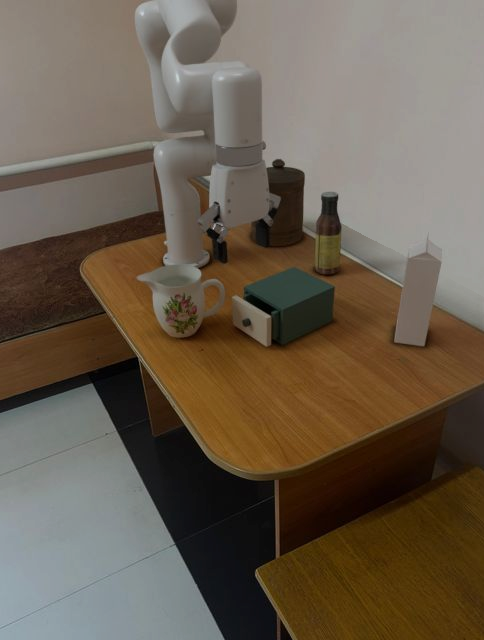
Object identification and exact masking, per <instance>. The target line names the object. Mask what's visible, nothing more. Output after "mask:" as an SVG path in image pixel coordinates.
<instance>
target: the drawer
mask: <svg viewBox="0 0 484 640" xmlns="http://www.w3.org/2000/svg"><path fill="white" fill-rule="evenodd" d="M280 312H281V311H279V310H277V309H276V308H274V307H272V306H271V305H269V304H267V303H265V302H264V301H262V300H260V299H259V298H257V297H255V296H253V295H252V294H250V293H248V294H245V295H244V294H243V295H242V298H241V297H240V296H238V295H237V294H235V295H233V296H231V314H232V325H233V326H235V327H236V328H238V329H239V330H240V331H242V332H243V333H245V334H247V335H248V336H249V337H251V338H253V339H254V340H255V341H257V342H258V343H260V344H261V345H262V346H264V347H266V348H268V347H269V346H271V345H272V340H273V341H275V340H274V339H277V338H279V337H280Z"/></svg>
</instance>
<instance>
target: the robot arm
mask: <svg viewBox="0 0 484 640" xmlns="http://www.w3.org/2000/svg"><path fill="white" fill-rule="evenodd" d="M237 14H238V1H237V0H149V1H144V2H143V3H141V4H139V5H138V6H137V8H136V9H135V12H134V24H135V25H134V28H135V33H136V37H137V40H138V43H139V45H140V48H141V50H142V52H143V55H144V57H145V59H146V62H147V65H148V68H149V73H150V74H149V76H150V84H151V92H152V101H153V109H154V116H155V121H156V124H157V128H158V129H159V130H160V131H161V132H163V133H165V134H178V133H179V134H180V133H188V132H189V133H191V132H197V131H198V132H199V131H202V132H203V135H194V136H182V137H175V138H168V139H165V140H162V141H160V142H159V143H157V144H156V145H155V147H154V149H153V163H154V167H155V171H156V174H157V178H158V182H159V187H160V194H161V202H162V210H163V220H164V228H165V236H166V240H164V241H163V245H164V246H166V247H167V252H166V253H165V254H164V255H163V257H162V262H163V264H164V266H168V265H175V264H184V265H191V266H194V267H196V268H198V269H199V268H202V267H204V266H206V265H207V264H209V262H210V258H211V257H210V253H209V252H208V251H207V250H206V249H204V239H203V234H204V235H206V236H207V237H208V238H209V239H211V244H212V256H213V258H214V260H215V261H217V262H219V263H221V264H223V265H225V264H227V263H228V262H229V260H228V243H227V241H225V239H226V237H227V235H228V233H229V232H230V230H232V229H235V228H239V227H243V226H244V225H248V224H251V222H254V221H257V220H258V221H259V222H257V223H256V241H255V243H256V245H258V246H261V247H263V248H264V249H268V248H270V247H271V246H270V226H271V225H272V224H273V218H274V217H275V215H276V213H277V208H278V206H279V203H280V200H281V197H280V196H277V195H274V194H272V193H269V184H268V176H267V169H266V168H267V164H266V161H265V159H264V157H263V151H264V150H266V149H267V144H266V142H265V141H264V140H263V78H262V75H261V73H260V71H259V70H258V69H256V68H254V67H251V65H249V63H247V62H245V61H243V60H229V61H211V62H208V61H209V60H211V59H212V58H213V57H214V55H216V53H217V51H218V50H219V48H220V46H221V43H222V37H224V36H225V34H227V33H228V31H229V30H230V29H231V28H232V26H233V25H234V23H235V22H236V21H235V20H236V17H237ZM203 177H209V191H208V192H209V193H208V194H209V195H208V202H209V203H208V209H207V210H206V211H205V212H203V214H202V211H201V210H202V209H201V198H200V194H199V192H198V190H197V189H196V188H195V187H194V185H192V184H191V182H189V180H191V179H196V178H203ZM269 202H270V203H269ZM211 224H213V225H212V226H211Z"/></svg>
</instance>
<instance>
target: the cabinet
mask: <svg viewBox="0 0 484 640" xmlns="http://www.w3.org/2000/svg"><path fill="white" fill-rule="evenodd" d="M335 290H336V286H335V285H333V284H331V283H328V282H327V281H324V280H323V279H320V278H318V277H317V276H314V275H312V274H310V273H308V272H306V271H304V270H303V269H300V268H298V267H296V266H292V267H290V268H287V269H285V270H282V271H280V272H277V273H275V274H272V275H270V276H267V277H265V278H262V279H259V280H256V281H254V282H252V283H249V284H247V285H244V286H243V295H245V294H248V293H250V294H252V295H253V296H255V297H257V298H259V299H260V300H262V301H264V302H265V303H267V304H269V305H271V306H272V307H274V308H276V309H277V310H279V311H281V312H280V337H279V338H277V339H274V340H273V341H274V342H276V343H278V344H280V345H281V346H284V345H286V344H288V343H290V342H292V341H294V340H297V339H298V338H300V337H303V336H305V335H306V334H310V333H311V332H313V331H314V330H317V329H319V328H321V327H323V326H326V325H327V324H329V323H331V322H333V315H334V314H333V313H334V304H335V303H334V302H335Z"/></svg>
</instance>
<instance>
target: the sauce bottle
mask: <svg viewBox="0 0 484 640" xmlns="http://www.w3.org/2000/svg"><path fill="white" fill-rule="evenodd" d="M320 200H321V209H320V214H319V216H318V218H317V220H316V223H315V224H316V225H315V226H316V229H315V230H316V231H315V245H314V246H315V250H314V251H315V253H314V269H315V271H316V272H317V273H318V274H319V275H324V276H330V275H334V274H337V273H338V272H339V270H340V265H341V249H342V248H341V247H342V223H341V219H340V216H339V212H338V201H339V193H338V192H336V191H325V192H322V193H321V195H320Z"/></svg>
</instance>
